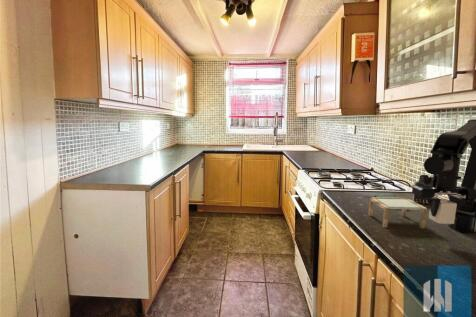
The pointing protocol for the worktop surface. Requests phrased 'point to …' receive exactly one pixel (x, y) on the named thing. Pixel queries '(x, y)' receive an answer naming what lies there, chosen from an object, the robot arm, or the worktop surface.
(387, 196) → the disk drive
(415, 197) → the battery charger
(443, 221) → the stone block
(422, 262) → the worktop surface
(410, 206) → the trapdoor
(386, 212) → the frame
